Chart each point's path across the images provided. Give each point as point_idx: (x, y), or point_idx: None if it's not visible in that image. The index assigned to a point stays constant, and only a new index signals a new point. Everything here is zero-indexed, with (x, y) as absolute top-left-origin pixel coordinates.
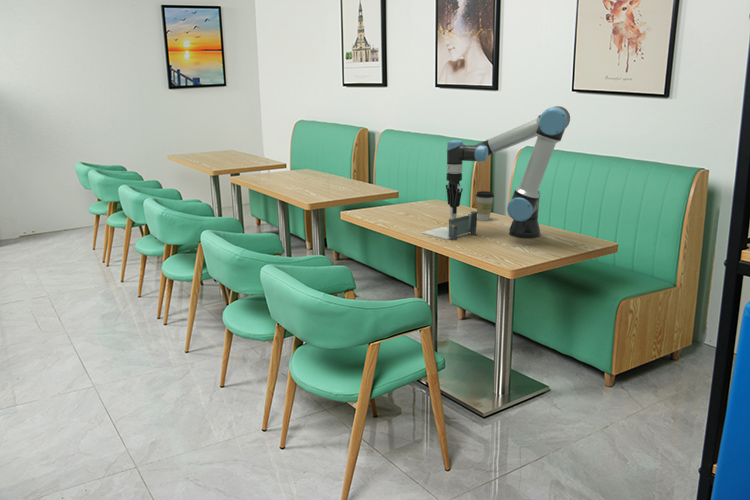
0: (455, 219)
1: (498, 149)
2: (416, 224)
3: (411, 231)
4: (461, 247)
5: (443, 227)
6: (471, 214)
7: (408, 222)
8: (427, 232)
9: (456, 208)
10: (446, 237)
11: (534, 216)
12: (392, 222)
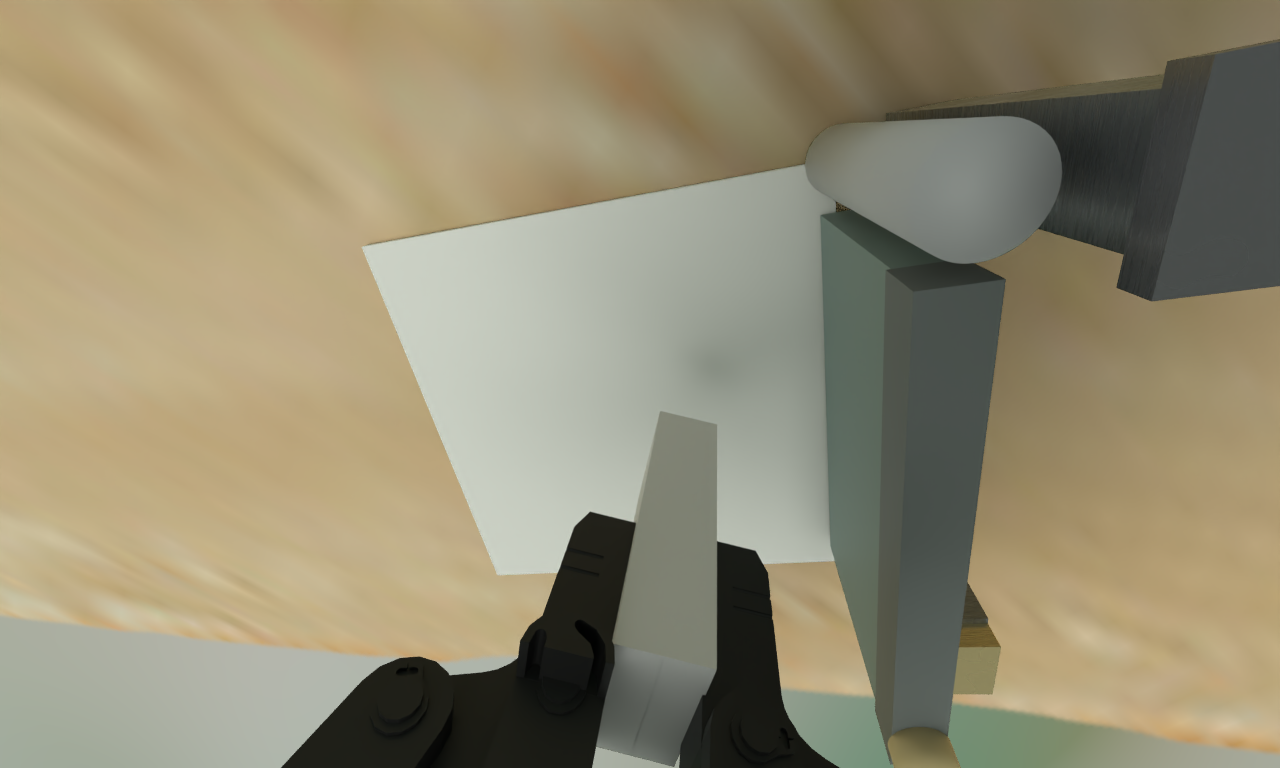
0: (951, 687)
1: None
2: (149, 393)
3: (410, 584)
4: (1145, 635)
5: (391, 261)
6: (1116, 250)
7: (51, 403)
8: (526, 539)
9: (776, 686)
10: (797, 535)
11: None
12: (49, 510)
